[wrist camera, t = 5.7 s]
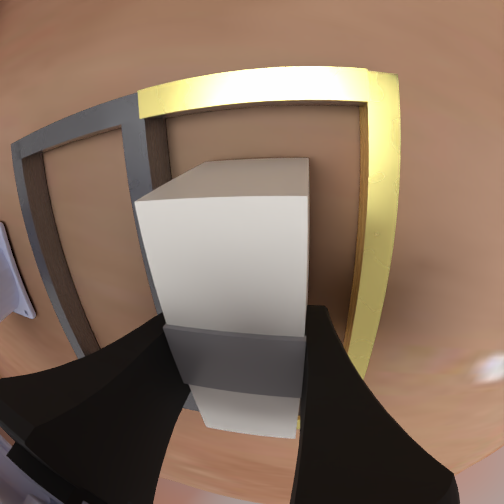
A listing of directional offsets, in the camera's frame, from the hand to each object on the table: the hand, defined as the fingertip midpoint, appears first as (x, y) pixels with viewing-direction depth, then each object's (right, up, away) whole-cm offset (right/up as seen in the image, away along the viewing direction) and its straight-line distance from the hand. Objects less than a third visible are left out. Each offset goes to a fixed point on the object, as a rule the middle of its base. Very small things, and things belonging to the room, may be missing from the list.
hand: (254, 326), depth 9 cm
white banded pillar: (0, +2, +2) cm, 2 cm away
